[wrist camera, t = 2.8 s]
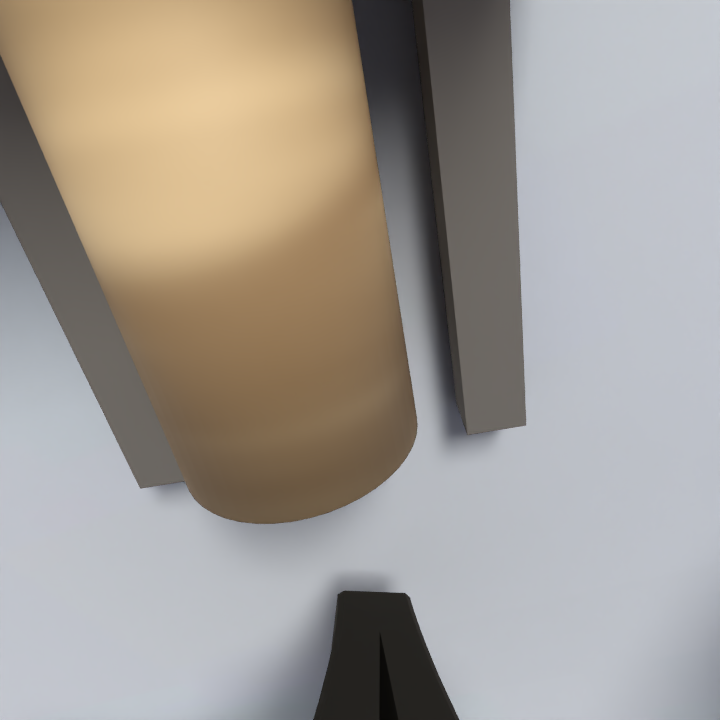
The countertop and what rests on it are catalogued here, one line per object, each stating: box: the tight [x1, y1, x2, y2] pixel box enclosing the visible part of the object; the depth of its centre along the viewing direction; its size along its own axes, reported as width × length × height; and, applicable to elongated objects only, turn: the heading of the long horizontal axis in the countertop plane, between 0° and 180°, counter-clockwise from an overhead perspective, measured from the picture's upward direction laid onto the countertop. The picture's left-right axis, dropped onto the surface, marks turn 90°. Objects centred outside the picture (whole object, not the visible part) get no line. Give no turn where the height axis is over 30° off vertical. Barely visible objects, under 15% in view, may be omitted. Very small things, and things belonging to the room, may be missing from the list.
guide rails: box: [0, 0, 526, 488], centre depth 8 cm, size 8×7×1 cm
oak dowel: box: [0, 0, 417, 524], centre depth 7 cm, size 7×4×4 cm, turn 10°
